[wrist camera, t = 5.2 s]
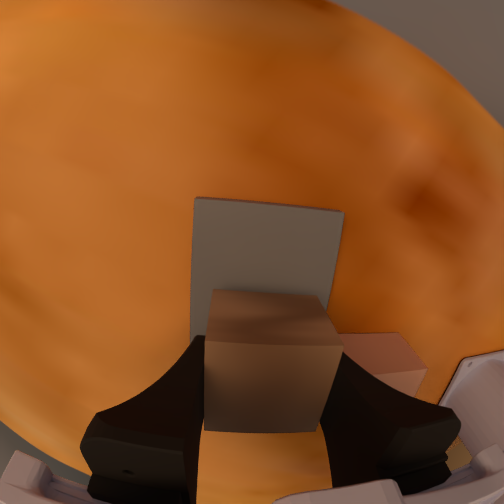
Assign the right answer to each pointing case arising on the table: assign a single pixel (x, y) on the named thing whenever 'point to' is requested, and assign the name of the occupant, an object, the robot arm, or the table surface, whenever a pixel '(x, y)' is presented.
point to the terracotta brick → (386, 359)
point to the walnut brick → (267, 362)
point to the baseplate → (260, 251)
